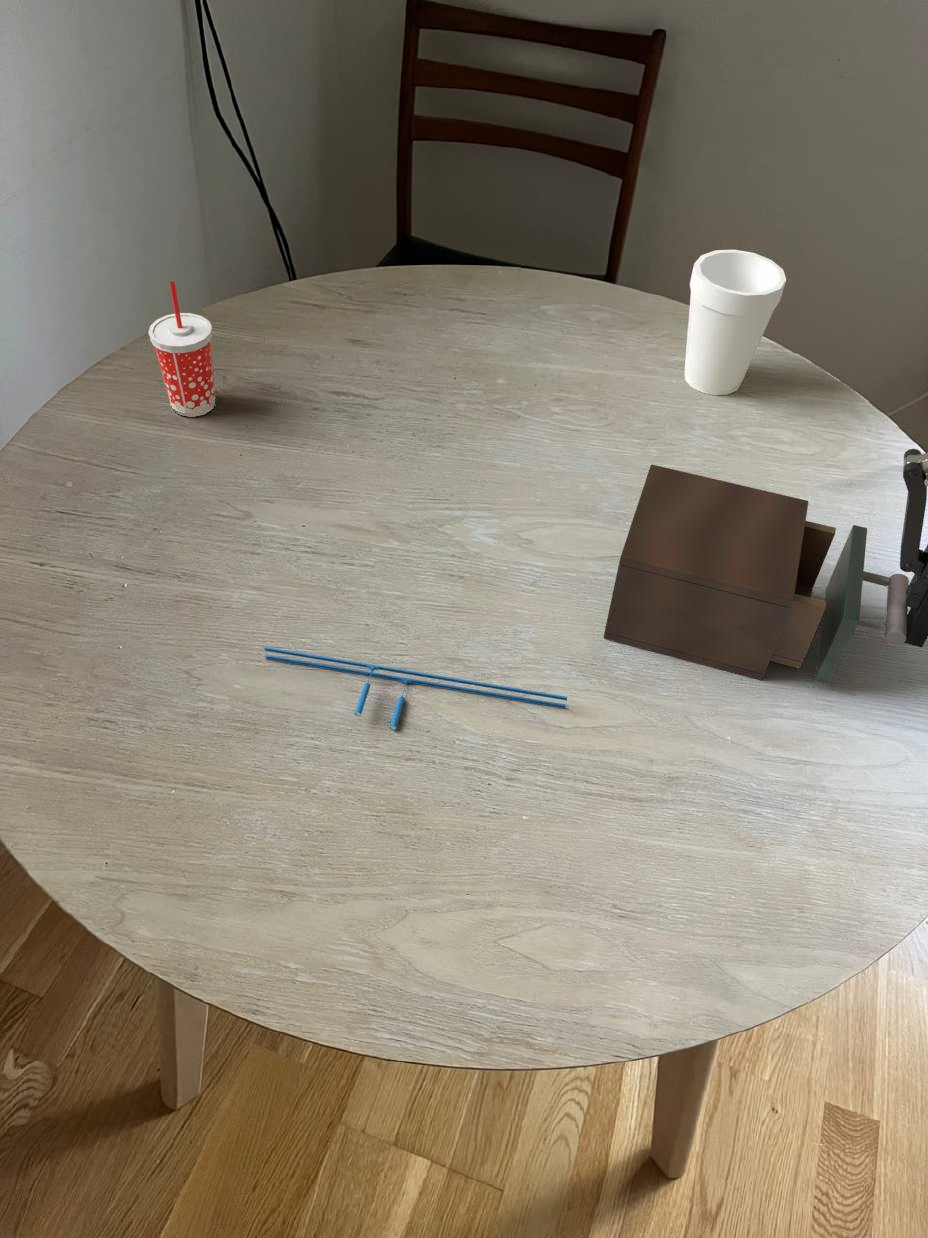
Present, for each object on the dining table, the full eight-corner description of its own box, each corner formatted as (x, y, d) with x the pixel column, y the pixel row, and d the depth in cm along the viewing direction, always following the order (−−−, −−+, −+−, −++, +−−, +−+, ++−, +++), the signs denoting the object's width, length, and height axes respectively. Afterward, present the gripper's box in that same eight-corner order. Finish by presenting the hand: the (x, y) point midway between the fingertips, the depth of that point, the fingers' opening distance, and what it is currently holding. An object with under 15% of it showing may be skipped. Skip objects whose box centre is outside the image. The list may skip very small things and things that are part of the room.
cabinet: (778, 580, 95) (808, 500, 88) (761, 680, 87) (793, 600, 80) (633, 544, 97) (651, 463, 90) (603, 638, 89) (620, 557, 82)
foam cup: (655, 363, 118) (677, 256, 109) (724, 349, 121) (751, 243, 112) (699, 410, 112) (726, 301, 103) (770, 394, 115) (803, 286, 106)
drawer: (889, 605, 92) (921, 540, 86) (883, 699, 85) (918, 635, 79) (700, 558, 95) (719, 492, 90) (678, 645, 88) (698, 580, 82)
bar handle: (560, 746, 79) (567, 696, 83) (244, 692, 81) (264, 646, 85) (558, 758, 80) (565, 707, 84) (245, 704, 82) (266, 658, 86)
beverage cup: (230, 391, 111) (213, 269, 101) (213, 425, 107) (193, 302, 97) (174, 384, 112) (151, 263, 101) (155, 418, 107) (129, 295, 97)
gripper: (939, 404, 68) (829, 645, 85) (1154, 450, 65) (996, 688, 83) (940, 345, 73) (836, 584, 90) (1139, 385, 70) (993, 622, 87)
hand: (913, 633), depth 86 cm, fingers closed
